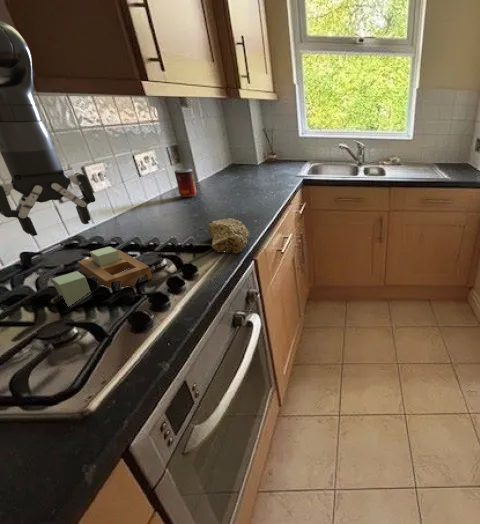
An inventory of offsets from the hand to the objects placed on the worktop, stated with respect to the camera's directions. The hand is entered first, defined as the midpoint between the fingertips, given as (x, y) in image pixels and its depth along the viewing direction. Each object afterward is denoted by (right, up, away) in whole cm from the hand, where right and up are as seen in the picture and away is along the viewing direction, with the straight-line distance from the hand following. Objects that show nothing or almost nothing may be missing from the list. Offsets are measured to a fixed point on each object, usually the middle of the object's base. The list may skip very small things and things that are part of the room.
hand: (60, 228), depth 69 cm
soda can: (-19, +23, +83) cm, 88 cm away
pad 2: (-3, -9, +17) cm, 19 cm away
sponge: (+20, -1, +36) cm, 41 cm away
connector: (0, -10, +15) cm, 18 cm away
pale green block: (0, -16, +4) cm, 16 cm away
